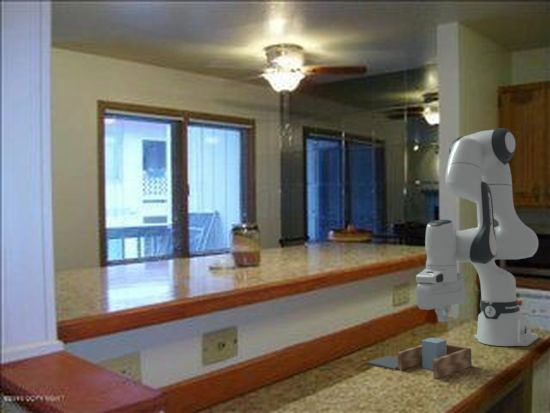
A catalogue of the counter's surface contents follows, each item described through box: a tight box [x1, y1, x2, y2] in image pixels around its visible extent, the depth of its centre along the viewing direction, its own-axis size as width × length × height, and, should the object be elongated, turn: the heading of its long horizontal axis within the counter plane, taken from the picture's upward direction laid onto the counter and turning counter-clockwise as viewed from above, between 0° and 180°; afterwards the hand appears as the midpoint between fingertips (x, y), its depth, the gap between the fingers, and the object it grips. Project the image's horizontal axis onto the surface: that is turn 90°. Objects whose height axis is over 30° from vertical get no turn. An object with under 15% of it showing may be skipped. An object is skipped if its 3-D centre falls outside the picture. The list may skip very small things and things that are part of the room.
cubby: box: [396, 343, 473, 380], centre depth 164 cm, size 17×13×5 cm
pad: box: [366, 355, 398, 370], centre depth 170 cm, size 10×10×1 cm
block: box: [421, 337, 448, 371], centre depth 164 cm, size 5×5×8 cm
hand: (443, 321), depth 168 cm, fingers closed
